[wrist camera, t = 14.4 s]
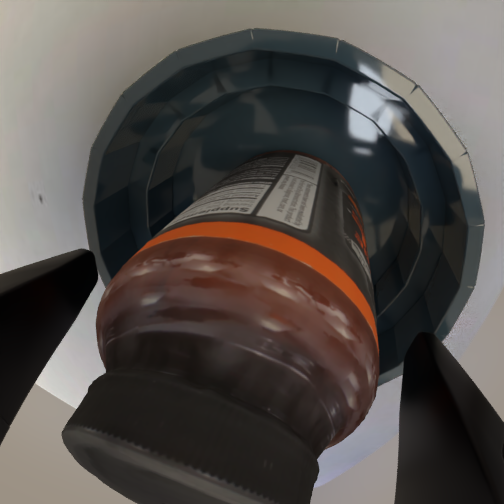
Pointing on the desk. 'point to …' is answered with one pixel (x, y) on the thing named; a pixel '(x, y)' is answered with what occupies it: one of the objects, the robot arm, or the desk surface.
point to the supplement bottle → (235, 343)
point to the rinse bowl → (303, 140)
